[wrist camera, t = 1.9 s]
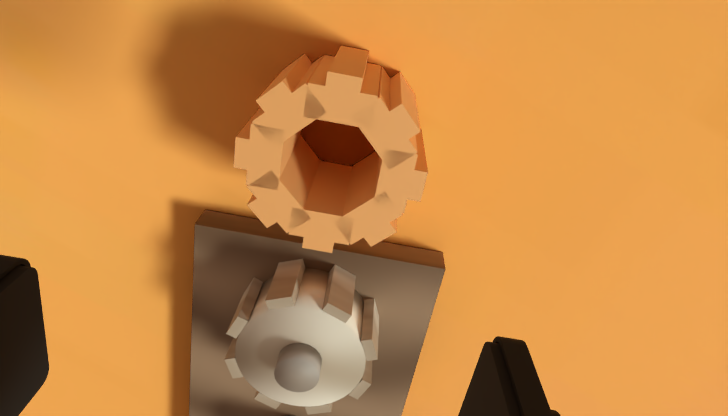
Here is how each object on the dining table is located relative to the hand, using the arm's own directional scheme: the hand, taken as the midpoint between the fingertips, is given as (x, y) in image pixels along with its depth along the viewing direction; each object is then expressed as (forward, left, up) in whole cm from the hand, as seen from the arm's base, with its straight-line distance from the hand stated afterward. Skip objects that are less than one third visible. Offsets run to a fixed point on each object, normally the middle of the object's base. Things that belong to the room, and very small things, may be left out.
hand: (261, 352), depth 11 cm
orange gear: (0, 0, -14) cm, 14 cm away
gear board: (+18, 0, -14) cm, 23 cm away
